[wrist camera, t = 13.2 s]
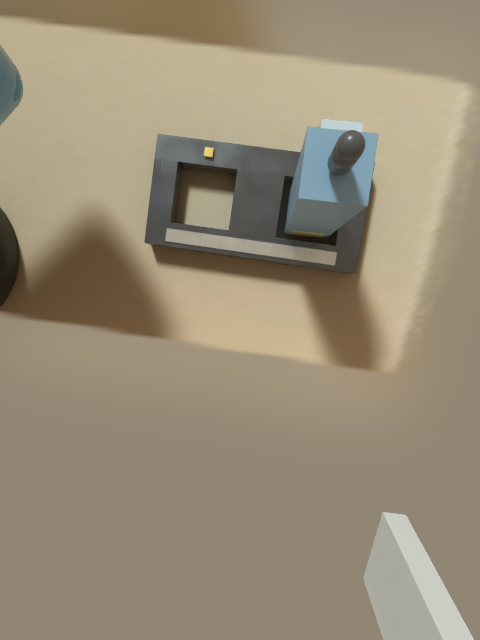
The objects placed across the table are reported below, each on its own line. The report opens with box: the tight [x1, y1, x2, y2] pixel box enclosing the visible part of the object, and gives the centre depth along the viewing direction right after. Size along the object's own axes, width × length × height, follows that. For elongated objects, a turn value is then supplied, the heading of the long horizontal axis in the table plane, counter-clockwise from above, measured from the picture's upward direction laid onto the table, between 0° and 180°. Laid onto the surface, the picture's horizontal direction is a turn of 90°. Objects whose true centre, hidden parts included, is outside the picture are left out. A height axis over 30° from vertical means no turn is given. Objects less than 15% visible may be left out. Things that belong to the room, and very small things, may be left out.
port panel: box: [145, 134, 375, 274], centre depth 35 cm, size 20×10×2 cm, turn 82°
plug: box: [284, 119, 379, 239], centre depth 27 cm, size 4×5×19 cm
